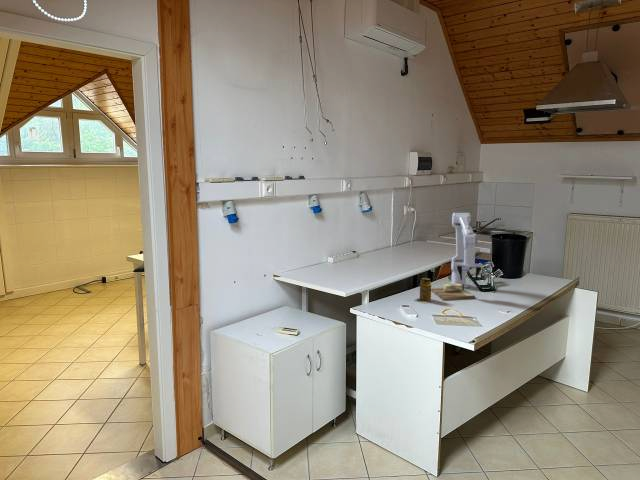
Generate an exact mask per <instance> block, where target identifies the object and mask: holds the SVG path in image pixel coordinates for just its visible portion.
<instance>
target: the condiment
mask: <svg viewBox="0 0 640 480" xmlns="http://www.w3.org/2000/svg"><path fill="white" fill-rule="evenodd" d="M431 281H432V280H431V278H429V277H422V278H420V283H419V298H416V299H414V301H415V302H419V303H424V304H426V303H430V302H431V301H434V299H433V298H432V291H431V289H432V283H431Z"/></svg>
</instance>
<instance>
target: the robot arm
mask: <svg viewBox="0 0 640 480" xmlns="http://www.w3.org/2000/svg"><path fill="white" fill-rule="evenodd" d="M471 220H472V217H471V213H470V212H453V213H452V215H451V225H452V227H453V228H454V229H455V253H456V255H454V256H453V257H452V258H451V263H450V267H451V268H450V269H451V281H450V282H449V284H464V289H465V288H469V286H468V285H467V273H468V272H469V271H470V268H473V269H475V277H474V281H475V282H478V281H477V279H478V277H479V275H480V272H481V271H482V270H483V269H484V264H482V263H475V261H476V245H477V244H478V236H477V233H474V231H473V228H472V226H470V223H471Z"/></svg>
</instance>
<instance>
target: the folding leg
mask: <svg viewBox="0 0 640 480" xmlns="http://www.w3.org/2000/svg"><path fill="white" fill-rule="evenodd" d="M442 288H443V290H444V291H460V290H464V289H465V288H464V284H450V283H446V284H445V283H444V284H442Z"/></svg>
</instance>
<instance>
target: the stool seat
mask: <svg viewBox="0 0 640 480" xmlns="http://www.w3.org/2000/svg"><path fill="white" fill-rule="evenodd" d="M431 293H434V295H436V296H437V298H440V299H441V300H442V301H454V300H455V301H457V300H459V301H460V300H469V299H470V300H471V299H472V300H473V299H475V297H476V296H475V294H473V293H471V292H470V291H469V290H468V289H465V288H464V290H460V291H444V290H443V287H434V288H431Z"/></svg>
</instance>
